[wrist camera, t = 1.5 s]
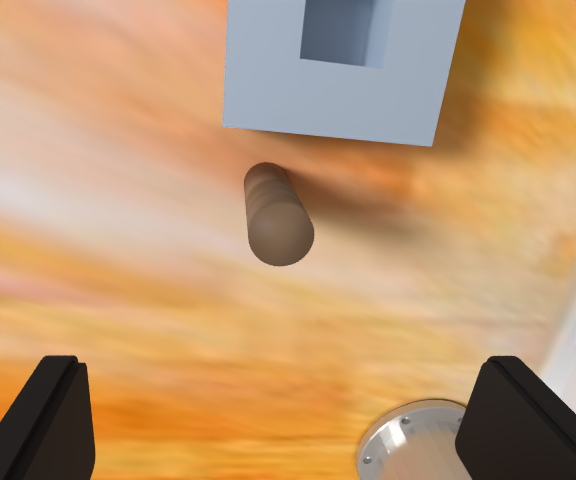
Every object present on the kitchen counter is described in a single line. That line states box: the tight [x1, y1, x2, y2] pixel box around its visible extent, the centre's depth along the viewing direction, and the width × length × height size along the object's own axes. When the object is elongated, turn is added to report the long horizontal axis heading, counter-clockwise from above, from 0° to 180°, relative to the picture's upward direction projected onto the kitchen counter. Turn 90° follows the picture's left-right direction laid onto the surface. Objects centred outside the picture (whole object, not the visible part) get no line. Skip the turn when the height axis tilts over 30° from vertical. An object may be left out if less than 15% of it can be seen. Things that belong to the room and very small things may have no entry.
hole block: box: [222, 0, 466, 147], centre depth 22 cm, size 12×12×4 cm
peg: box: [244, 162, 314, 266], centre depth 22 cm, size 3×3×10 cm
